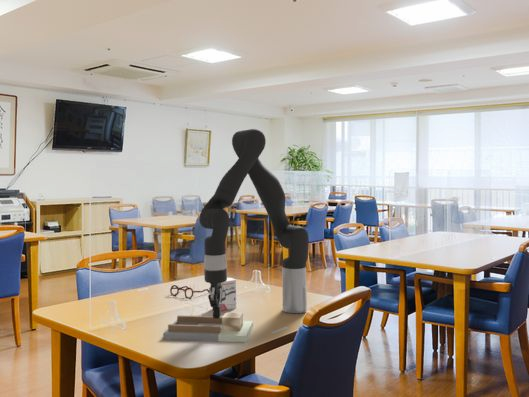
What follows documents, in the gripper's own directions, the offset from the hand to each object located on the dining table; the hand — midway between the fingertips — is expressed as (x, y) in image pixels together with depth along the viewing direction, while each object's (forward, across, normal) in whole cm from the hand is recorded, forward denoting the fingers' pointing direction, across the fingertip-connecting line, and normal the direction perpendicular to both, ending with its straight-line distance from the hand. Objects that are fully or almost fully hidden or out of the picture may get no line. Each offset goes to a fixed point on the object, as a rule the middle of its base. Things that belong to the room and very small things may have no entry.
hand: (216, 317), depth 175 cm
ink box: (+6, +30, +4) cm, 31 cm away
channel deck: (+5, 0, +3) cm, 6 cm away
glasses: (+6, +52, +24) cm, 58 cm away
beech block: (+3, -1, -6) cm, 7 cm away
